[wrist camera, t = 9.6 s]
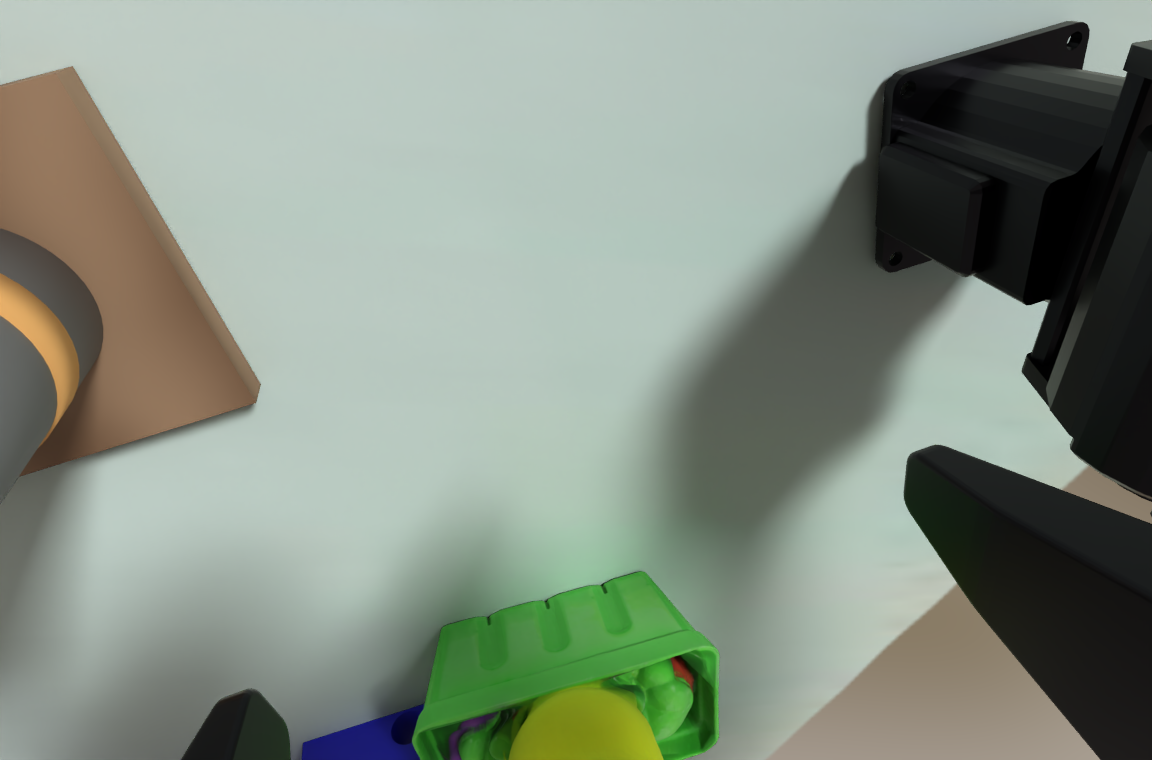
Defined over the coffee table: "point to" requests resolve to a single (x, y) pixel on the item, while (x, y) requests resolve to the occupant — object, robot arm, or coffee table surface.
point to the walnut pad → (113, 274)
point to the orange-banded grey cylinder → (39, 347)
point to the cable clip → (369, 740)
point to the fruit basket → (573, 681)
